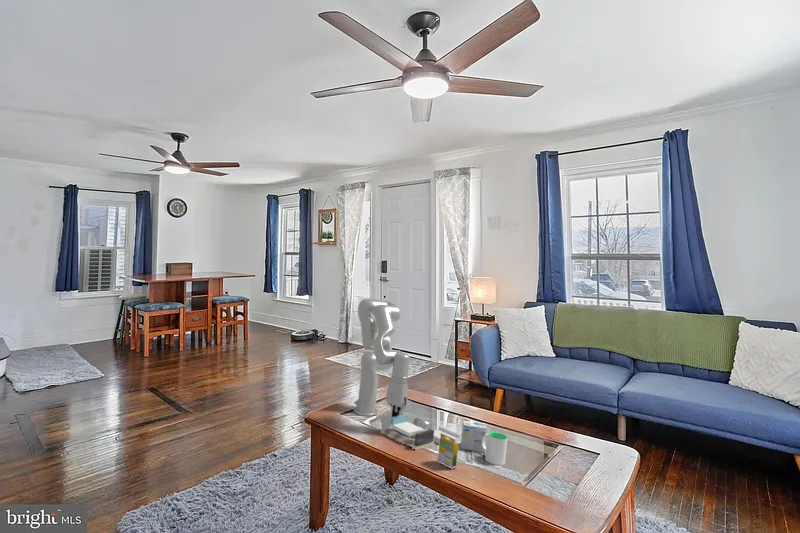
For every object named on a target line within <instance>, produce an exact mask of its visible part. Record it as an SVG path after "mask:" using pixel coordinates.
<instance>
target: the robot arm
mask: <svg viewBox="0 0 800 533" xmlns="http://www.w3.org/2000/svg"><path fill="white" fill-rule="evenodd" d="M372 315H373V316H374V317H373V316H372ZM357 316H358V319H359V323H360V326H361V341H362V347H363V348H364V349H365V350H368V351H367V352H364V353H363V354H362V355H361V358H360V367H361V370H360V382H359V387H358V388H359V390H358V397H357V399H356V400H355V401H354V402H353V404H354V405H355V407H354V408H353V412H354V413H355V414H357V415H360V416H364V417H373V416H376V415H377V414H378V413H379V412H378V409H376V403H377V398H378V397H377V395H378V386H379V376H378V373H377V372H376V371H388V370H390V369H392V370H391V375H390V378H391V380H389V383H388V387H387V391H386V399H385V400H386V402H387V404H388V405H389V406H390V408H391V409H390V410H391V417H394V416H399V415H400V412H401V411H403V410H406V406H407V405H408V400H409V399H408V398H409V396H408V395H409V386H408V378H409V377H408V376H409V367H410V361H411V356H410V355H409V354H408V353H405V352H403V351H401V350H399V349H398V350H397V349H393V346H392V344H393V343H392V339H391V337H392V335H393V334H395V326H394V322H397V321H399V320H400V319H401V310H400V308H399V307H398V305H396V304H394V303H392V302H390V301H389V300H384V299H374V298H366V299H365V298H364V299H362V300H361V301H360V302H359V304H358V307H357ZM390 336H391V337H390ZM369 350H371V351H369Z"/></svg>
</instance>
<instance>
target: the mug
mask: <svg viewBox="0 0 800 533" xmlns="http://www.w3.org/2000/svg"><path fill="white" fill-rule="evenodd" d="M485 437H486V446H485ZM482 447H483V449H484V450H485V458H484V459H485V461H486V462H487V463H489V464H492V465H495V466H503V465H505V463H506V456H507V447H508V436H507V435H506V434H503V433H502V432H496V431H490V432H487V434H485V435H483V437H482Z"/></svg>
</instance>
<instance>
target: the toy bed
mask: <svg viewBox="0 0 800 533" xmlns="http://www.w3.org/2000/svg"><path fill="white" fill-rule="evenodd" d="M408 420H409V414H406V413H405V414H399V416H394V417H392V416H391V418H390V425H389V427H391V428H393V430H395V431H397V432H399V433H401V434H403V435H406V436H407V437H409V438H414V437H415V434H416V433H419V432H423V431H424V429H422V428H420V427H418V426H416V425H414V424H413V423H411V422H409V421H408Z"/></svg>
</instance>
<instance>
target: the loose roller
mask: <svg viewBox="0 0 800 533" xmlns="http://www.w3.org/2000/svg"><path fill="white" fill-rule="evenodd" d="M412 424H414V425H416V426H418V427H420V428H422V429H424V430H425V431H427V430H430V429H432V423H430V422H429V421H426V420H424V419H422V418H419V417H415V418H414V420H413V422H412Z"/></svg>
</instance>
